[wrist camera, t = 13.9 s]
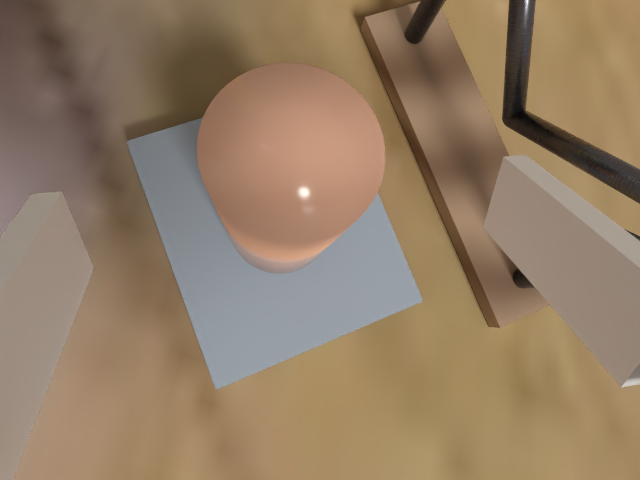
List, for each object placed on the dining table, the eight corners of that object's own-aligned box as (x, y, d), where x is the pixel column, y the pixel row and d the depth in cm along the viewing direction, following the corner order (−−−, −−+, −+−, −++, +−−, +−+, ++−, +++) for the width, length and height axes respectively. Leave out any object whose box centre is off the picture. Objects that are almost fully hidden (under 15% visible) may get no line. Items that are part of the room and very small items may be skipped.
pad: (131, 147, 24) (126, 140, 23) (327, 87, 26) (329, 78, 25) (218, 386, 22) (216, 389, 21) (416, 301, 24) (423, 301, 23)
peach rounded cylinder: (214, 193, 23) (170, 91, 12) (308, 162, 24) (345, 42, 13) (249, 288, 22) (236, 271, 11) (343, 252, 23) (413, 205, 12)
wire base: (360, 29, 27) (364, 16, 25) (428, 10, 28) (436, -4, 26) (488, 326, 25) (500, 327, 24) (558, 295, 26) (572, 294, 24)
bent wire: (401, 28, 26) (522, -217, 14) (418, 24, 26) (553, -222, 14) (518, 291, 24) (774, 277, 12) (535, 284, 24) (804, 262, 12)
